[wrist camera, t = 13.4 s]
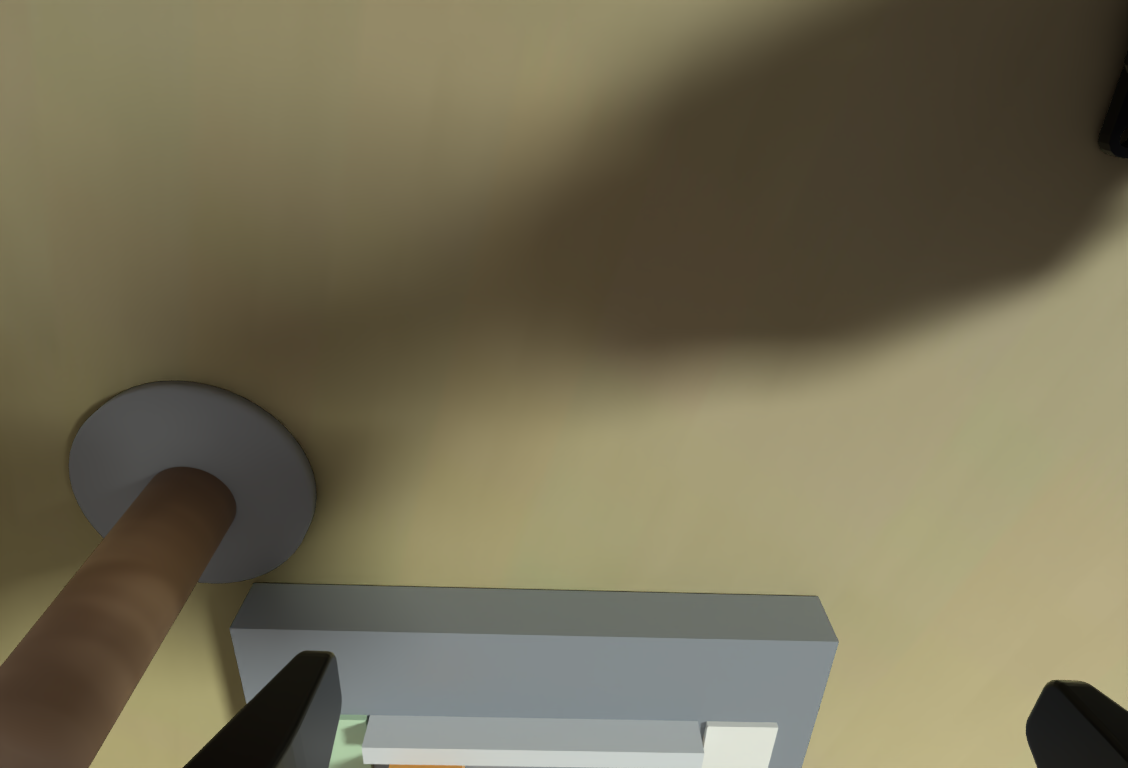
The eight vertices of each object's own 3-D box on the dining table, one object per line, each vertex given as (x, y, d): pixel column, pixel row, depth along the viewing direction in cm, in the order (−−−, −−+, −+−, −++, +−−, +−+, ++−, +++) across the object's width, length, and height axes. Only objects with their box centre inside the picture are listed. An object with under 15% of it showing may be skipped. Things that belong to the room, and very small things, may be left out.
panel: (818, 596, 25) (852, 672, 22) (755, 829, 31) (776, 913, 28) (253, 583, 24) (213, 659, 21) (300, 823, 30) (274, 908, 27)
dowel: (228, 467, 21) (73, 700, 14) (243, 537, 22) (107, 783, 15) (137, 466, 21) (-65, 701, 14) (157, 536, 22) (-20, 784, 15)
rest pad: (302, 384, 21) (295, 394, 20) (327, 573, 24) (322, 585, 23) (52, 376, 20) (39, 386, 20) (111, 567, 24) (101, 580, 23)
